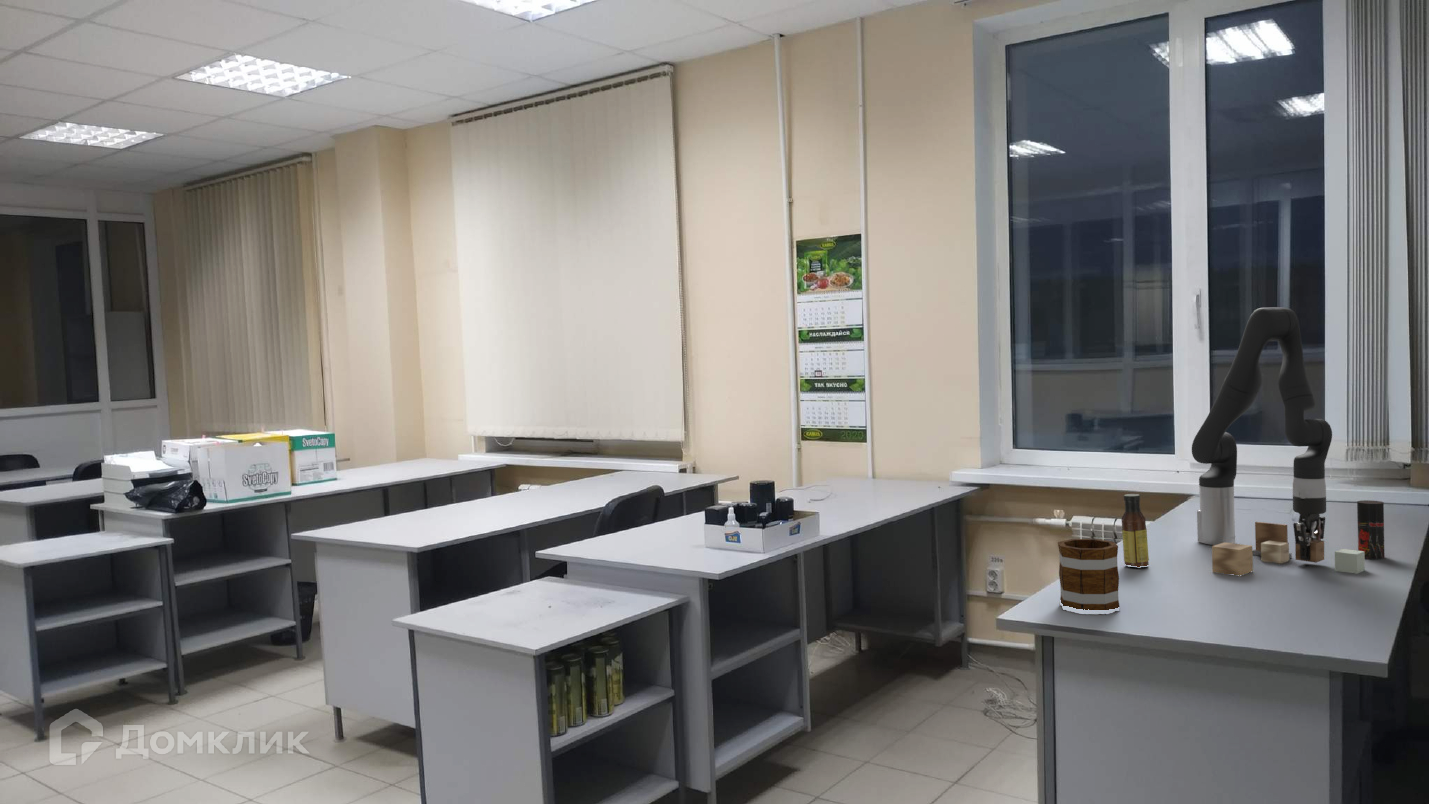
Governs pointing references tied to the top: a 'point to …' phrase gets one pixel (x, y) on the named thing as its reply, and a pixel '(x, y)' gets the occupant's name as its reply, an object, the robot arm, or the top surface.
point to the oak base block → (1232, 558)
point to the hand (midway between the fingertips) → (1309, 557)
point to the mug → (1089, 574)
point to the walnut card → (1269, 535)
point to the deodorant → (1371, 528)
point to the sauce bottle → (1134, 533)
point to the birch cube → (1275, 551)
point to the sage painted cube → (1349, 561)
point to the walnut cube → (1312, 551)
